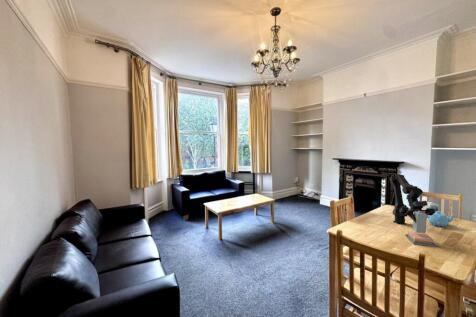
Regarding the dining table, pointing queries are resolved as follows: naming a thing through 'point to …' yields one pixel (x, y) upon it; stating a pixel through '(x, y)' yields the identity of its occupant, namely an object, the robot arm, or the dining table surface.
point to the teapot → (439, 219)
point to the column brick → (420, 222)
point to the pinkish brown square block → (420, 239)
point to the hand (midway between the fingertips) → (420, 222)
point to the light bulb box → (431, 206)
